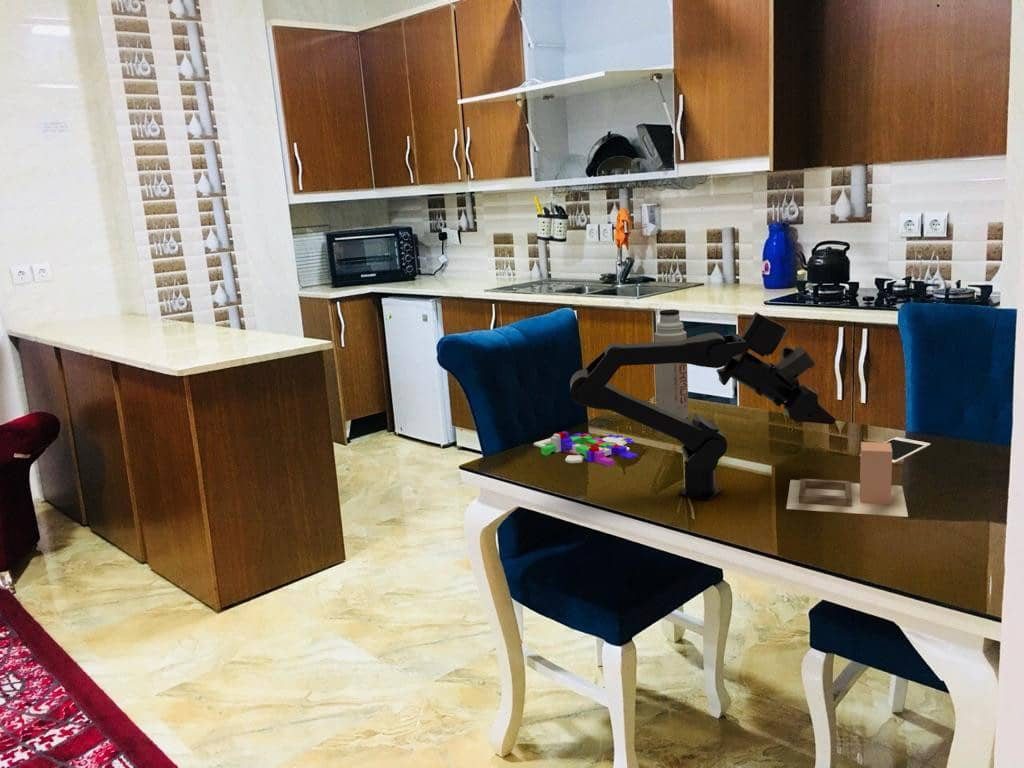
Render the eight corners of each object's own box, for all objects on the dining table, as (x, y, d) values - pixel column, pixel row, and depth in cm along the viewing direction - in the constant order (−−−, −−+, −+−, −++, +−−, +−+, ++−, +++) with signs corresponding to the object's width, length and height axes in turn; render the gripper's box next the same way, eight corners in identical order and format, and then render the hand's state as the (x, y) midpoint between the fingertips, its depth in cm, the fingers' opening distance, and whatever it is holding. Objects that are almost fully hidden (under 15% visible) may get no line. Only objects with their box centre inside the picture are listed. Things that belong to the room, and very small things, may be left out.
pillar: (860, 503, 151) (861, 450, 149) (859, 493, 156) (860, 441, 153) (890, 504, 149) (892, 451, 147) (889, 494, 154) (890, 442, 152)
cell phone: (931, 446, 182) (931, 443, 182) (894, 465, 172) (894, 462, 172) (895, 439, 188) (896, 436, 188) (858, 457, 178) (858, 454, 178)
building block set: (660, 451, 192) (659, 433, 191) (592, 474, 181) (591, 454, 180) (588, 430, 212) (587, 413, 211) (524, 450, 201) (522, 432, 200)
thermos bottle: (694, 417, 214) (692, 309, 208) (668, 423, 211) (665, 314, 205) (676, 411, 222) (673, 306, 215) (651, 416, 219) (647, 310, 212)
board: (786, 513, 151) (786, 500, 151) (790, 484, 165) (790, 472, 164) (908, 522, 144) (908, 508, 144) (901, 490, 158) (902, 478, 157)
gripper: (795, 348, 147) (869, 392, 148) (769, 330, 165) (835, 369, 166) (760, 401, 150) (833, 443, 151) (738, 377, 168) (803, 415, 169)
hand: (826, 415), depth 159 cm, fingers open, 9 cm apart
